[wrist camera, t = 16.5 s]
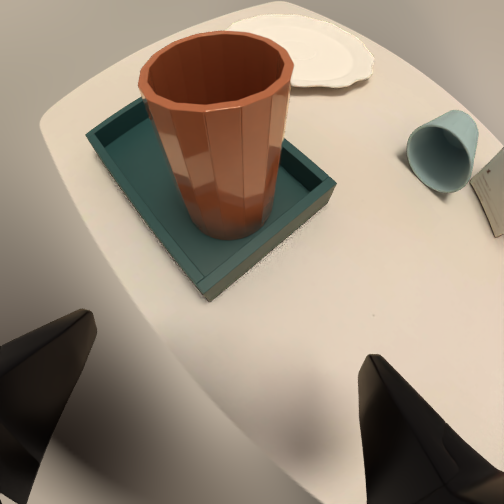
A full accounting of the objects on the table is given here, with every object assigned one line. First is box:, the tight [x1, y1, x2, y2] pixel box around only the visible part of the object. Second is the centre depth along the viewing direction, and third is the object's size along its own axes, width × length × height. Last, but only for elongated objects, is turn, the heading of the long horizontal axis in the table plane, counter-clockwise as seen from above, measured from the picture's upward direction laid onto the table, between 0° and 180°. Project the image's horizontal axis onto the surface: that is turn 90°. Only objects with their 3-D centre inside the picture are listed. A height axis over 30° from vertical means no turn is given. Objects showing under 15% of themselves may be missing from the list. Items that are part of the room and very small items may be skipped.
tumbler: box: [138, 31, 294, 240], centre depth 17 cm, size 7×7×13 cm
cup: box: [407, 110, 478, 193], centre depth 23 cm, size 7×7×10 cm
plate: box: [225, 14, 375, 88], centre depth 31 cm, size 21×21×2 cm
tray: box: [85, 97, 337, 302], centre depth 23 cm, size 20×13×3 cm, turn 41°
